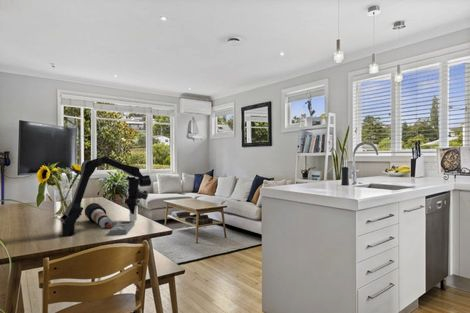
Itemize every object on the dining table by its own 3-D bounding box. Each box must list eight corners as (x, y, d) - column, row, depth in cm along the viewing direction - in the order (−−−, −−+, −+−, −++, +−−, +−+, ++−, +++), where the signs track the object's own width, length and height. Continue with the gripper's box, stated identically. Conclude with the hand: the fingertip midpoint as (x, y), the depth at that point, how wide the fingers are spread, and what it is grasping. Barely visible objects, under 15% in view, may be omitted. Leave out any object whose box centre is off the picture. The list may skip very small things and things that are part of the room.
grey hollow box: (126, 236, 154) (126, 228, 154) (110, 237, 153) (110, 229, 153) (134, 226, 174) (134, 219, 173) (120, 227, 173) (119, 220, 172)
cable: (105, 239, 164) (96, 224, 161) (89, 221, 191) (81, 208, 187) (122, 228, 170) (113, 214, 166) (104, 212, 196) (97, 199, 192)
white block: (136, 220, 179) (136, 207, 179) (129, 220, 179) (129, 207, 179) (137, 219, 183) (137, 206, 183) (131, 219, 183) (130, 206, 183)
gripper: (144, 189, 173) (144, 216, 173) (149, 185, 191) (149, 210, 191) (124, 189, 171) (124, 216, 171) (131, 185, 190) (131, 210, 190)
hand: (133, 213), depth 181 cm, fingers closed on white block, 4 cm apart
